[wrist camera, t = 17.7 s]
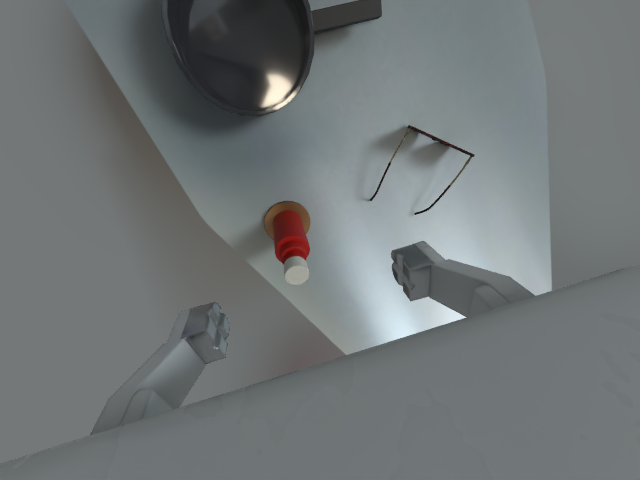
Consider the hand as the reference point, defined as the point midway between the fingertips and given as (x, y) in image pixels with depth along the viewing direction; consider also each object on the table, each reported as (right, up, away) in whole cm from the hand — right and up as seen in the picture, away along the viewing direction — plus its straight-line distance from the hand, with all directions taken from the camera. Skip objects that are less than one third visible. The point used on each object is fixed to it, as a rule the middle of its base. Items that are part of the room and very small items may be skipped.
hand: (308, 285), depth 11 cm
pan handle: (+4, +31, +21) cm, 38 cm away
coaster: (-6, +6, +37) cm, 38 cm away
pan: (-10, +29, +22) cm, 38 cm away
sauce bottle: (-6, +5, +36) cm, 37 cm away
